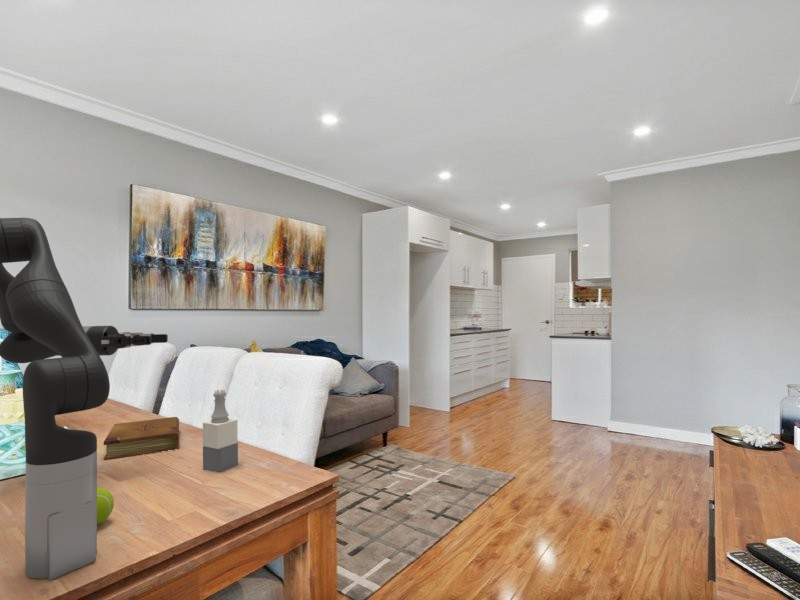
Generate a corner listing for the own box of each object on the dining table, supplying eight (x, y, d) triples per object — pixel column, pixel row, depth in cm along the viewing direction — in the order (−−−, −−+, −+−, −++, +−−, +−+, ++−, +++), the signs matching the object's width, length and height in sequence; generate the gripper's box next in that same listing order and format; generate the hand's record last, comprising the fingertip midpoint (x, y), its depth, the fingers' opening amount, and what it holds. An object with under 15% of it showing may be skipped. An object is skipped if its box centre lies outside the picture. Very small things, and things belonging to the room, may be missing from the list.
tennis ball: (117, 525, 82) (117, 488, 83) (72, 539, 77) (72, 500, 78) (109, 513, 87) (109, 478, 88) (66, 526, 82) (66, 489, 83)
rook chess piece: (222, 423, 111) (222, 392, 111) (206, 423, 111) (206, 392, 112) (232, 419, 115) (232, 389, 115) (217, 418, 116) (217, 389, 116)
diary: (178, 451, 128) (178, 432, 129) (103, 462, 120) (103, 442, 120) (179, 432, 149) (179, 415, 149) (114, 440, 140) (114, 423, 141)
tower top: (237, 442, 114) (237, 419, 114) (217, 449, 109) (217, 425, 109) (222, 439, 117) (222, 417, 117) (202, 445, 112) (202, 422, 112)
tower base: (238, 464, 115) (237, 442, 115) (221, 472, 109) (220, 448, 109) (220, 462, 117) (220, 439, 117) (203, 469, 111) (202, 446, 111)
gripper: (73, 326, 102) (144, 325, 103) (109, 325, 116) (171, 323, 117) (73, 358, 102) (145, 356, 103) (109, 353, 116) (172, 351, 117)
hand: (159, 339), depth 110 cm, fingers open, 8 cm apart
